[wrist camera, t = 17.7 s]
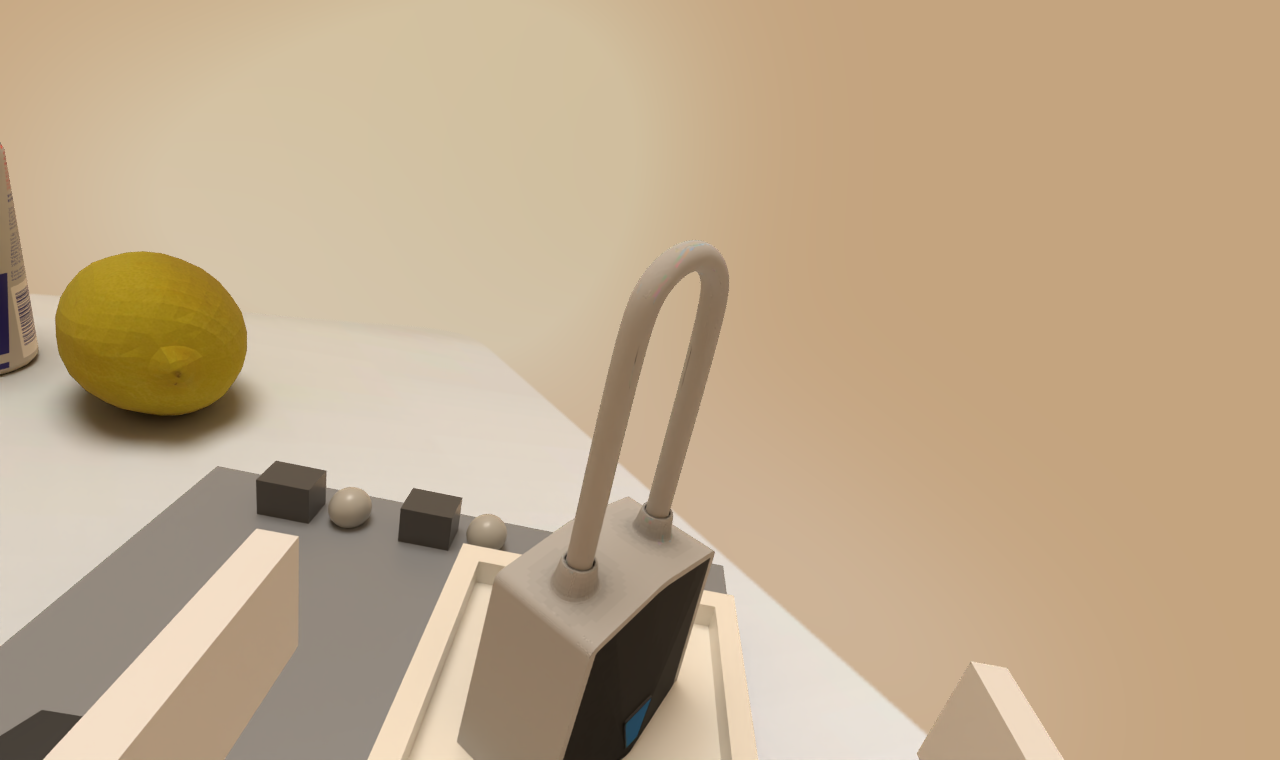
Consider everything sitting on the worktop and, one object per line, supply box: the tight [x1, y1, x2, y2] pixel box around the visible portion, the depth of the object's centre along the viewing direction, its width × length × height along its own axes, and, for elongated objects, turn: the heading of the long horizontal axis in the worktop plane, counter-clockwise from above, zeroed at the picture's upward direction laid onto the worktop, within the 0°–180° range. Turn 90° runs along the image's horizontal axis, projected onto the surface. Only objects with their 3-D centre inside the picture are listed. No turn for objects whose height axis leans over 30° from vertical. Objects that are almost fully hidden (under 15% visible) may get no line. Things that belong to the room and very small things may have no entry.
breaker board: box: [0, 461, 758, 760], centre depth 21 cm, size 22×14×4 cm, turn 88°
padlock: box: [457, 240, 729, 760], centre depth 17 cm, size 7×4×15 cm, turn 143°
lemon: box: [55, 251, 247, 415], centre depth 33 cm, size 11×8×8 cm
